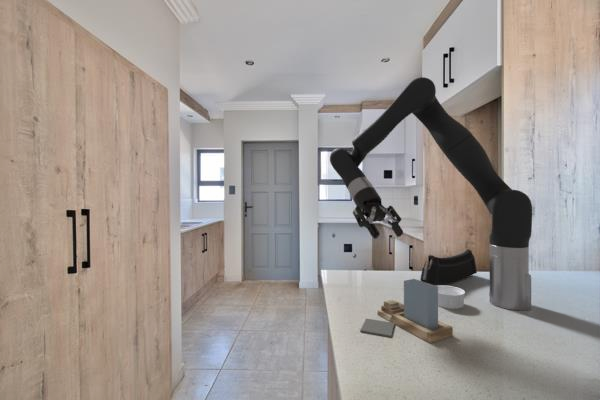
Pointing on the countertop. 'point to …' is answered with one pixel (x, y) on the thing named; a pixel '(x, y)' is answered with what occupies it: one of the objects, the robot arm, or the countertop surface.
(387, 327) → the pad
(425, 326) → the blue-grey rectangular block
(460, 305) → the ramekin
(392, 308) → the rack
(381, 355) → the countertop surface
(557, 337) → the countertop surface
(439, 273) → the magazine
